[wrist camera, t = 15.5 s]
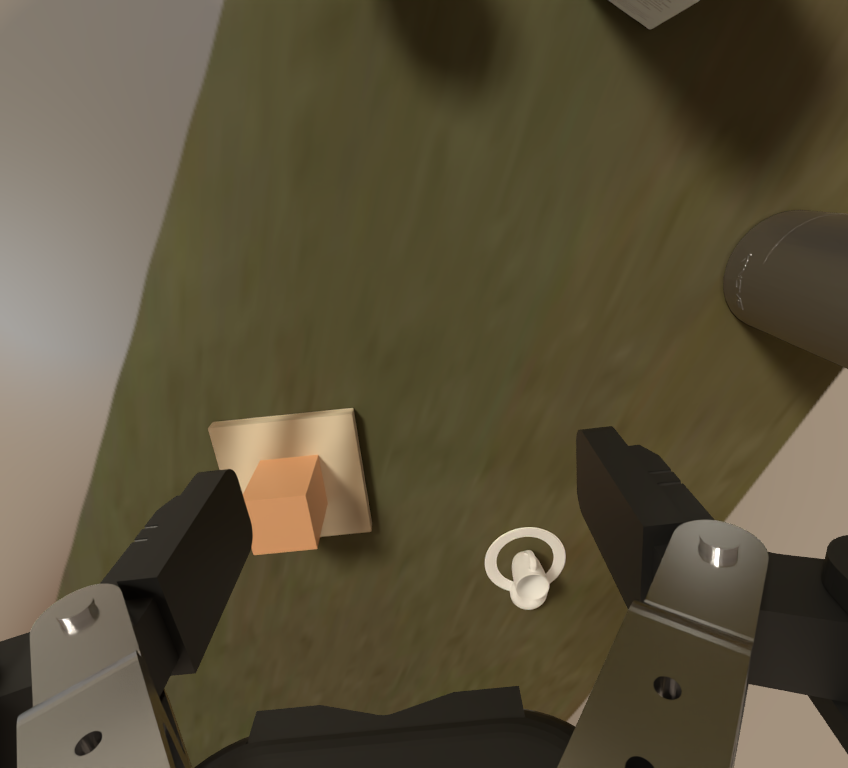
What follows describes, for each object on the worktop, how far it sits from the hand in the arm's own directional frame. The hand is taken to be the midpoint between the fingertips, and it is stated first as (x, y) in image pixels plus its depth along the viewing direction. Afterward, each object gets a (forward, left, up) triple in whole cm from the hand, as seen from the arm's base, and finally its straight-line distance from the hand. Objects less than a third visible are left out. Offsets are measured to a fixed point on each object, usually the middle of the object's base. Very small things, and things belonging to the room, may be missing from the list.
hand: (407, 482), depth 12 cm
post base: (+12, +17, -30) cm, 36 cm away
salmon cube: (+12, +17, -28) cm, 35 cm away
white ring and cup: (-6, +31, -30) cm, 44 cm away
